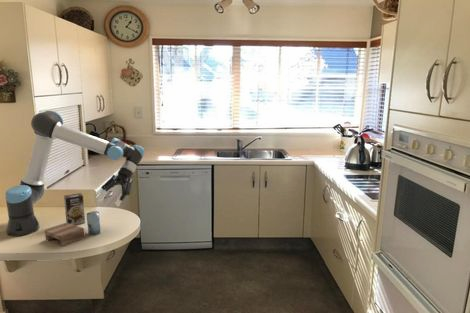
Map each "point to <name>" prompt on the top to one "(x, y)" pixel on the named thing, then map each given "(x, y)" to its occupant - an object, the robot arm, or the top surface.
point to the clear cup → (93, 223)
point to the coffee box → (74, 209)
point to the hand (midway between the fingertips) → (107, 203)
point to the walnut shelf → (65, 233)
